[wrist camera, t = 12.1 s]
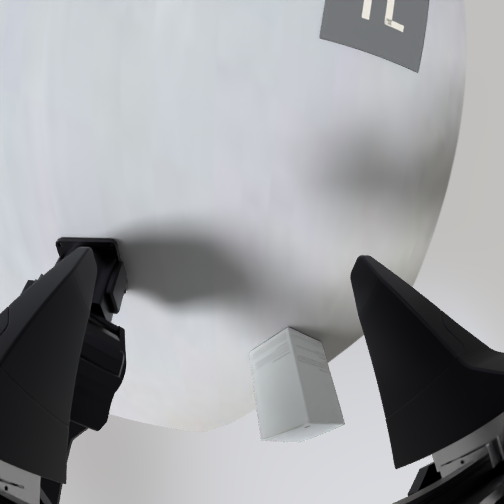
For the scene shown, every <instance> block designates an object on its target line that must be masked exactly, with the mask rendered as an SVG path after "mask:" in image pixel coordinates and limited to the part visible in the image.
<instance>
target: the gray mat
mask: <svg viewBox="0 0 504 504" xmlns="http://www.w3.org/2000/svg"><path fill="white" fill-rule="evenodd" d="M428 5H429V0H325V6H324V13H323V19H322V25H321V31H320V38H321V39H325V40H329V41H332V42H336V43H340V44H343V45H346V46H350V47H353V48H356V49H359V50H362V51H365V52H368V53H371V54H374V55H376V56H379V57H382V58H384V59H387V60H389V61H392V62H394V63H397V64H399V65H402V66H404V67H406V68H408V69H411V70H413V71H415V72H417V73H418V70H419V65H420V60H421V54H422V48H423V42H424V36H425V29H426V22H427V14H428Z"/></svg>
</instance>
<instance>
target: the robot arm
mask: <svg viewBox="0 0 504 504" xmlns="http://www.w3.org/2000/svg"><path fill="white" fill-rule="evenodd" d="M61 244H62V245H61ZM110 244H111V245H113V246H110ZM56 247H57V250H58V253H59V256H60V257H59V259H58V261H57V262H56V264H55V266H54V267H53V268H52V269H51V270H49V271H48V272H47V273H46V274H44V275H42V274H41V275H40V277H39V279H38V280H36V279H35V281H33V280H28V282H27V283H26V285H25V287H24V289H23V291H22V293H21V295H20V296H19V297H18V298H17V299H16V300H14V301H13V302H12V303H11V304H10V305H9V307H7V308H6V309H5V310H4V311H3V312H2V313H0V504H59V501H60V495H61V489H62V484H66V469H67V460H68V456H69V452H70V448H71V444H72V441H73V440H74V439H75V438H76V437H77V436H79V435H80V434H82V433H83V432H84V431H86V430H87V429H88V428H90V429H93V430H96V431H99V430H100V429H101V428H102V427H103V426H104V424H105V423H106V422H107V419H108V415H109V410H110V406H111V402H112V399H113V396H114V394H115V392H116V391H117V390H118V388H119V387H120V385H121V383H122V380H123V378H124V375H125V370H126V351H125V330H124V329H123V328H121V327H120V326H116V325H114V324H113V323H111V321H112V317H113V313H114V314H117V313H118V312H119V310H120V306H121V302H122V298H123V295H124V294H125V293H126V290H127V287H126V284H127V278H126V274H125V269H124V265H123V262H122V261H121V260H120V257H119V252H118V247H117V243H116V242H115V241H114V240H111V239H63V238H60V239H58V240H57V241H56ZM351 283H352V288H353V292H354V297H355V302H356V307H357V311H358V316H359V319H360V323H361V326H362V329H363V332H364V336H365V339H366V343H367V346H368V350H369V353H370V357H371V360H372V364H373V368H374V372H375V376H376V379H377V384H378V387H379V392H380V396H381V400H382V404H383V409H384V413H385V417H386V423H387V428H388V432H389V437H390V443H391V448H392V453H393V460H394V465H395V468H396V469H398V468H400V467H403V466H406V465H408V464H411V463H413V462H415V461H418V460H420V459H422V458H424V457H426V456H429V455H431V454H432V456H433V460H434V462H432V463H430V464H429V465H427V466H425V467H423V468H421V469H419V472H418V474H417V476H416V478H415V480H414V482H413V485H412V487H411V489H410V491H409V493H408V497H406V498H404V499H402V500H400V501H397V502H395V503H393V504H504V353H501V352H497V351H494V350H493V349H491V348H489V347H488V346H487V345H485V344H484V343H482V342H481V341H480V340H479V339H477V338H476V337H474V336H473V335H472V334H471V333H469V332H468V331H467V330H465V329H464V328H463V327H461V326H460V325H459V324H458V323H456V322H455V321H454V320H453V319H451V318H450V317H449V316H448V315H446V314H445V313H444V312H443V311H440V309H439V308H438V307H437V306H435V305H434V304H433V303H432V302H430V301H429V300H428V299H427V298H425V297H424V296H423V295H422V294H420V293H419V292H418V291H416V290H415V289H414V288H413V287H411V286H410V285H409V284H407V283H406V282H405V281H403V280H402V279H401V278H399V277H398V276H397V275H395V274H394V273H393V272H391V271H390V270H389V269H387V268H386V267H385V266H383V265H382V264H381V263H379V262H378V261H377V260H375V259H374V258H372V257H371V256H368V255H361V256H359V257H358V258H357V260H356V262H355V265H354V267H353V269H352V272H351Z"/></svg>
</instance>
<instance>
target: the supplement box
mask: <svg viewBox="0 0 504 504" xmlns="http://www.w3.org/2000/svg"><path fill="white" fill-rule="evenodd" d="M249 357H250V364H251V372H252V379H253V387H254V394H255V401H256V408H257V415H258V422H259V429H260V436H261V441H276V442H277V441H278V442H302V441H305V440H308V439H311V438H313V437H316V436H318V435H321V434H324V433H326V432H328V431H331V430H333V429H336V428H338V427H340V426H342V425H344V424H345V423H344V419H343V415H342V411H341V408H340V404H339V401H338V397H337V394H336V390H335V387H334V383H333V380H332V377H331V373H330V370H329V367H328V363H327V360H326V356H325V353H324V350H323V346H322V343H321V342H320V341H318V340H315V339H313V338H311V337H309V336H306V335H304V334H302V333H300V332H298V331H296V330H293V329H291V328H289V327H287V328H286V329H284V330H283V331H281V332H279V333H278V334H277V335H275V336H273V337H272V338H270V339H269V340H267V341H266V342H264V343H263V344H261V345H260V346H258V347H257V348H255V349H253V350H252V351H251V352H250V353H249Z"/></svg>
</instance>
